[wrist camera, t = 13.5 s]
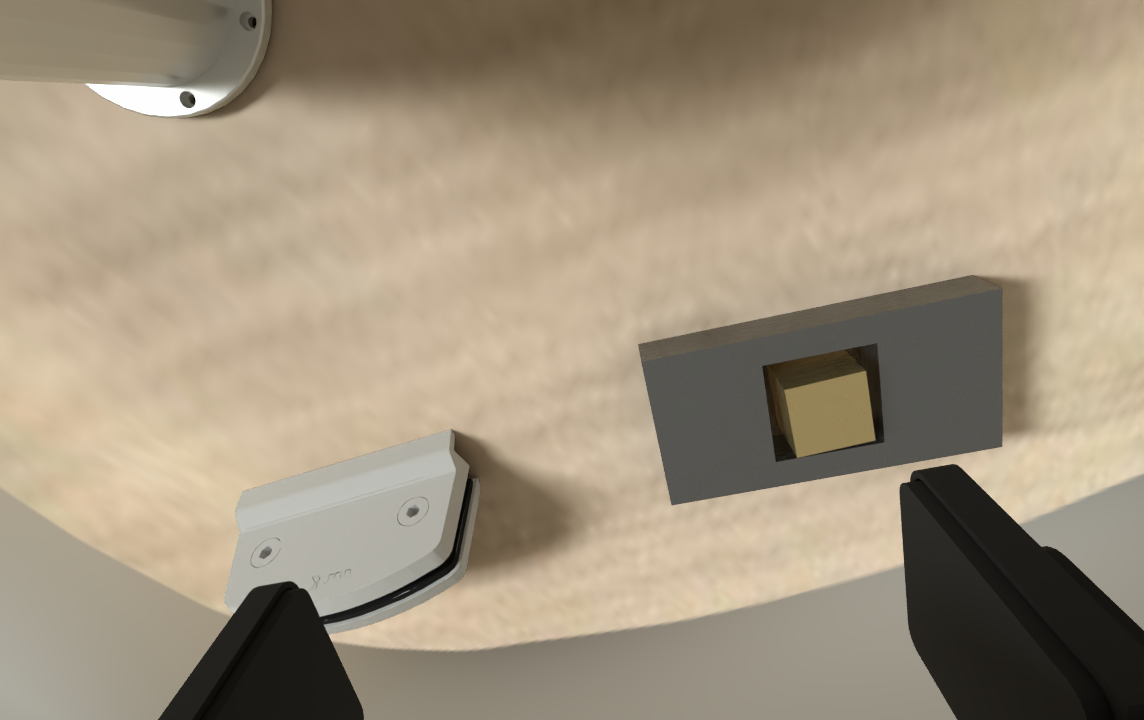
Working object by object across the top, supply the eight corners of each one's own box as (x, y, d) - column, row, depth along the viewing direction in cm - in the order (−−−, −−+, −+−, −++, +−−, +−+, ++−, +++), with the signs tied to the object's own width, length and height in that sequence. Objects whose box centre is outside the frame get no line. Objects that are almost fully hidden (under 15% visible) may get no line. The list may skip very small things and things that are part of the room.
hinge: (456, 427, 43) (446, 559, 36) (485, 470, 46) (481, 600, 39) (237, 492, 46) (183, 629, 38) (277, 529, 49) (235, 663, 41)
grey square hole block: (638, 344, 41) (641, 361, 38) (972, 275, 38) (1001, 288, 36) (666, 480, 44) (671, 505, 41) (975, 424, 42) (1002, 446, 39)
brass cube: (765, 361, 41) (784, 390, 37) (837, 343, 40) (866, 370, 36) (777, 423, 42) (797, 457, 38) (847, 407, 42) (875, 440, 38)
